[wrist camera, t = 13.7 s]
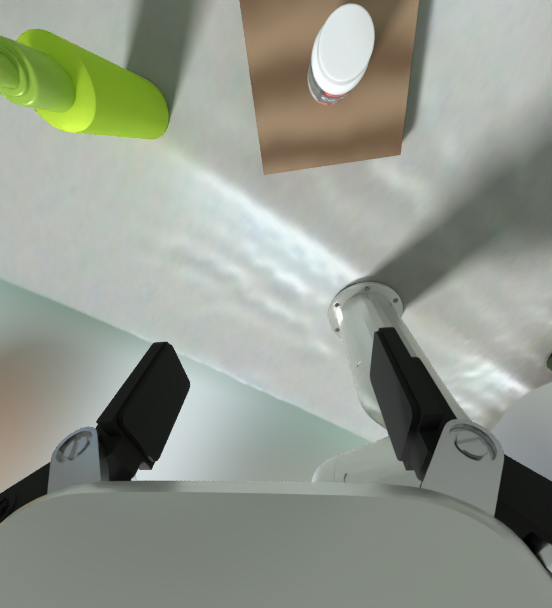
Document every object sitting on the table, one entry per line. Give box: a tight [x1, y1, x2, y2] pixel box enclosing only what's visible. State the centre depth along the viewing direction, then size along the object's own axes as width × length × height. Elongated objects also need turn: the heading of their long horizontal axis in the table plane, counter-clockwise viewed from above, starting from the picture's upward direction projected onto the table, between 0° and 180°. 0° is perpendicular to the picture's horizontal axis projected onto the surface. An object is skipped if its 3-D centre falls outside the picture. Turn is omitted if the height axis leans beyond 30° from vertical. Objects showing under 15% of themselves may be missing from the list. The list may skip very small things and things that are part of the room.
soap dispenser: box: [0, 29, 169, 139], centre depth 21 cm, size 6×7×20 cm
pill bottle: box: [308, 4, 375, 105], centre depth 21 cm, size 5×5×8 cm
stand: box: [240, 0, 419, 175], centre depth 26 cm, size 16×16×3 cm
